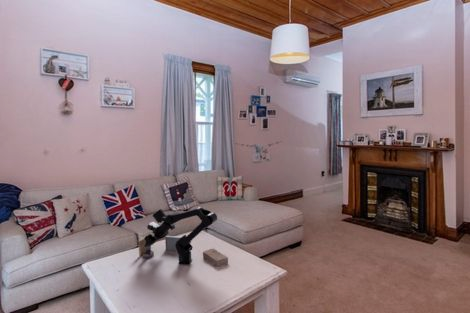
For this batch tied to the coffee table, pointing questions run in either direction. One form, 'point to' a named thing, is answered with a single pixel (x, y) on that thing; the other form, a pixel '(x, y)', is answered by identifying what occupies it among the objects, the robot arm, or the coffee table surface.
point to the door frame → (171, 242)
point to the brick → (215, 257)
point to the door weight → (148, 252)
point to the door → (142, 246)
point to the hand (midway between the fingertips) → (149, 243)
